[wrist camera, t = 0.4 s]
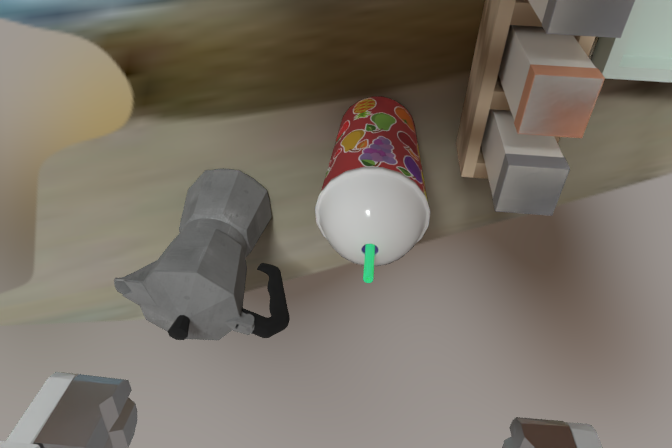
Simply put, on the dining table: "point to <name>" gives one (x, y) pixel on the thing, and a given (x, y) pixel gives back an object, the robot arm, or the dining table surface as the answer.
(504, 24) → the socket strip
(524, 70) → the block
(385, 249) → the smoothie
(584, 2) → the block
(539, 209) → the block
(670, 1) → the tray
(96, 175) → the dining table surface
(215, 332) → the coffeepot
